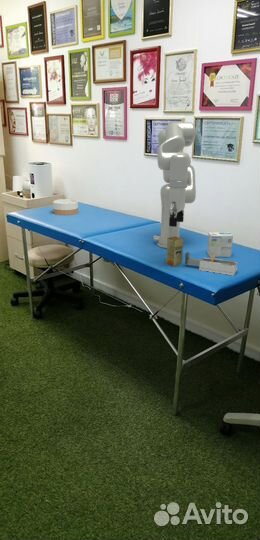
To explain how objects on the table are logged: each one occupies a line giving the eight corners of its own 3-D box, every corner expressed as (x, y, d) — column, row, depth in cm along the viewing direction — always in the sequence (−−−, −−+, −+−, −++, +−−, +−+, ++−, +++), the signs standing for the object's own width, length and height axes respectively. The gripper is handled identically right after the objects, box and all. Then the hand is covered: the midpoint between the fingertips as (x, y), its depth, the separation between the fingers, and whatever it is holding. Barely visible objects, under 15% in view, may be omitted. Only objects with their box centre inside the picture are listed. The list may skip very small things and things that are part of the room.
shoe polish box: (166, 263, 183) (167, 238, 179) (174, 261, 186) (175, 236, 182) (173, 266, 180) (175, 240, 175) (181, 264, 182) (183, 238, 178)
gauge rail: (198, 270, 175) (199, 261, 174) (203, 265, 181) (203, 256, 180) (233, 275, 169) (234, 266, 168) (236, 270, 175) (237, 261, 174)
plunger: (184, 263, 179) (185, 252, 177) (186, 261, 182) (187, 250, 180) (212, 268, 174) (213, 256, 172) (214, 265, 177) (215, 254, 175)
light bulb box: (227, 252, 199) (229, 231, 195) (231, 257, 193) (233, 235, 189) (206, 252, 199) (208, 231, 195) (209, 257, 192) (211, 235, 189)
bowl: (51, 215, 276) (50, 203, 273) (56, 210, 292) (55, 198, 289) (76, 215, 275) (75, 203, 272) (80, 210, 291) (79, 199, 288)
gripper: (176, 181, 179) (174, 219, 185) (163, 186, 165) (161, 227, 170) (192, 182, 177) (190, 220, 182) (180, 187, 162) (178, 229, 168)
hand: (176, 224), depth 176 cm, fingers open, 9 cm apart
